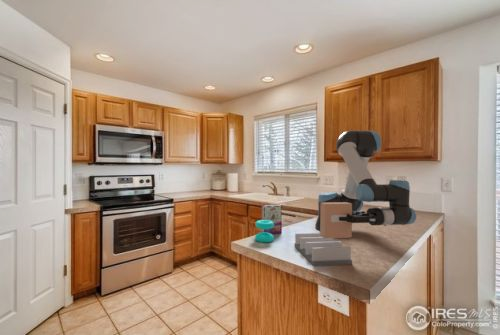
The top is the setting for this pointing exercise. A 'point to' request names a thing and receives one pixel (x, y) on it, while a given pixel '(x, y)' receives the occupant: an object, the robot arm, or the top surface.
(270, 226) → the donuts
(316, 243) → the dish rack
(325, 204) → the terracotta tile
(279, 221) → the candy bar box
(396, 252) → the top surface
